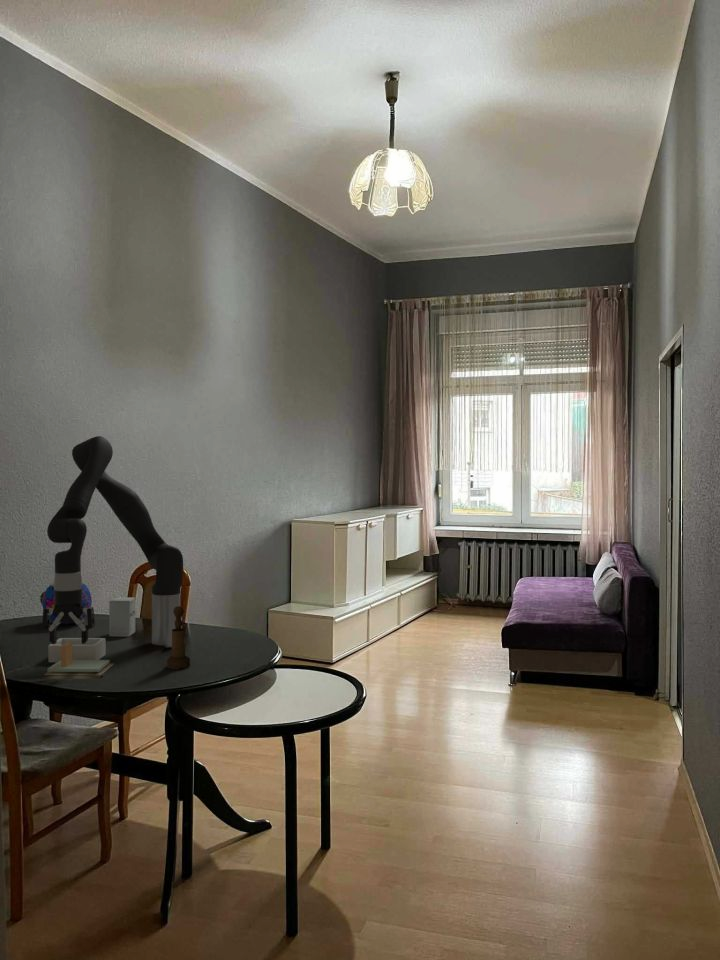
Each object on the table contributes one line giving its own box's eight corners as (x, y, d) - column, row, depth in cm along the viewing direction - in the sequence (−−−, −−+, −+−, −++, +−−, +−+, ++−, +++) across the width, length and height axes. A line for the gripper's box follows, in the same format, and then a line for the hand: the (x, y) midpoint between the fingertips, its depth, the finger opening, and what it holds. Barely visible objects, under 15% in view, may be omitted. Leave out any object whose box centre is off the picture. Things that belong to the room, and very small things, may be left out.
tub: (105, 657, 253) (105, 638, 253) (95, 665, 243) (95, 645, 243) (60, 657, 253) (60, 638, 253) (48, 665, 243) (48, 645, 243)
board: (114, 666, 242) (114, 663, 242) (100, 678, 229) (100, 675, 229) (60, 666, 242) (60, 663, 242) (43, 678, 229) (43, 675, 229)
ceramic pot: (72, 616, 317) (72, 578, 317) (101, 622, 307) (101, 582, 307) (32, 624, 303) (32, 584, 302) (61, 630, 293) (61, 588, 292)
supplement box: (129, 636, 282) (129, 600, 282) (108, 636, 283) (108, 600, 282) (136, 632, 290) (136, 597, 289) (115, 632, 290) (115, 596, 290)
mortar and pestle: (167, 670, 238) (167, 609, 238) (166, 664, 245) (166, 605, 244) (190, 668, 240) (190, 608, 240) (189, 663, 247) (189, 604, 246)
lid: (109, 664, 240) (109, 639, 240) (98, 673, 230) (98, 647, 230) (60, 664, 240) (60, 639, 240) (47, 673, 230) (47, 647, 230)
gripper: (96, 585, 238) (97, 640, 239) (47, 585, 238) (48, 640, 238) (88, 589, 231) (89, 646, 231) (38, 590, 230) (39, 646, 231)
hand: (69, 643), depth 235 cm, fingers open, 8 cm apart
